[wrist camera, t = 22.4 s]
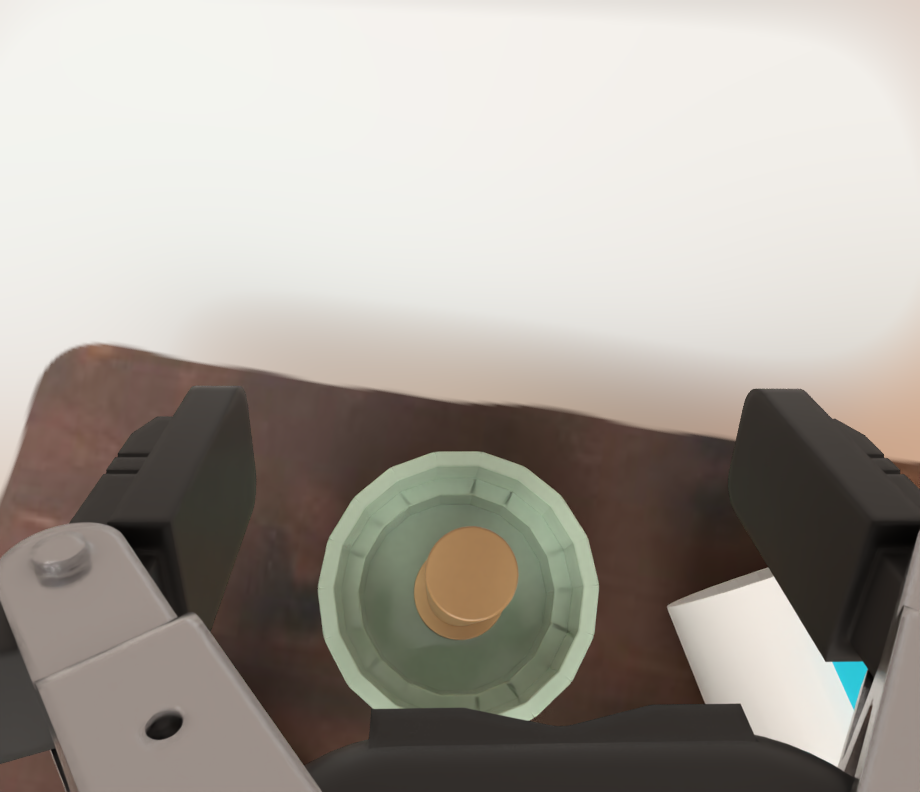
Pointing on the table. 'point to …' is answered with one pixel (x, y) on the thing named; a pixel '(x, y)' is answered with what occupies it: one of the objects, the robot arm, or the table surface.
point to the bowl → (407, 548)
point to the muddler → (466, 583)
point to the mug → (767, 664)
